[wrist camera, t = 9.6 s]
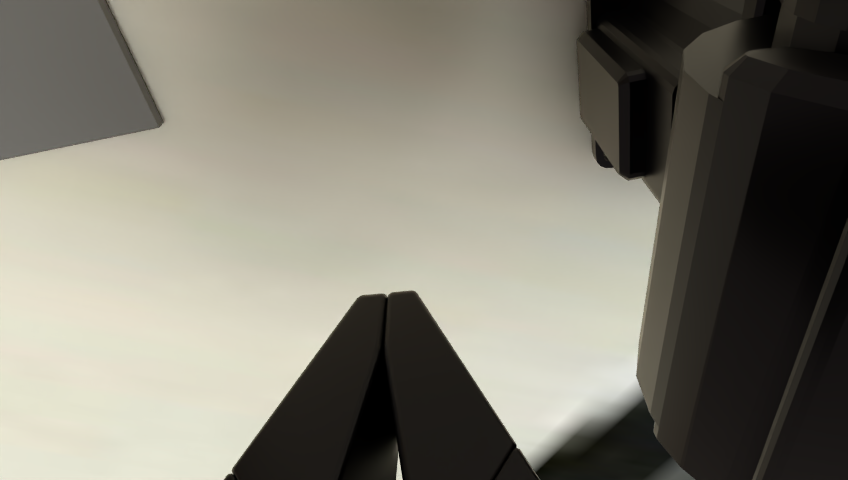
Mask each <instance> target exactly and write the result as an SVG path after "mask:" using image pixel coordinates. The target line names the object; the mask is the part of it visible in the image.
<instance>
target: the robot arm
mask: <svg viewBox="0 0 848 480" xmlns="http://www.w3.org/2000/svg"><path fill="white" fill-rule="evenodd" d="M587 23H588V31H583V32H582V34H581V35H580V37H579V38H578V40H577V55H578V75H579V96H580V115H581V119H582V121H583V122H584V124H585V125H586V127H587V128H588V130H589V131H590V133H591V134H592V152H593V156H594V158H595V159H596V161H597V162H598V164H599V165H600V166H602V167H605V168H613V167H614V168H615V170H616V171H617V173H618V174H619V175H621V176H622V177H624V178H625V179H627V180H633V179H638V178H642V180H643V181H644V182H645V184H646V185H647V186H648V188H649V189H650V191H651V192H652V193H653V195H654V196H655V197H656V199H657V200H658V201H659V203H660V207H659V214H658V220H657V227H656V233H655V240H654V247H653V253H652V260H651V266H650V273H649V280H648V286H647V293H646V299H645V306H644V313H643V319H642V326H641V332H640V339H639V348H638V361H637V374H636V376H637V379H638V382H639V385H640V387H641V390H642V393H643V396H644V398H645V401H646V404H647V407H648V409H649V412H650V414H651V416H652V418H653V419H654V421H655V425H654V434H655V436H656V438H657V440H658V441H659V442H660V443H661V444H662V446H663V447H664V448H665V449H666V450H667V451H668V453H669V454H670V455H671V456H672V457H673V459H674V460H675V461H676V462H677V463H678V465H679V466H680V467H681V468H682V469H683V470H685V471H686V472H687V473H688V474H690V475H691V476H692V477H693V478H694V479H696V480H848V0H587ZM604 153H605V155H606V156H604ZM398 452H399V459H400V465H401V471H402V478H403V480H540V479H539V477H538V476H537V474H536V473H535V472H534V470H533V469H532V467H531V466H530V464H529V463H528V461H527V459H526V458H525V456H524V455H523V453H522V452H521V450H520V449H518V448H517V446H516V443H515V442H514V440H513V439H512V437H511V436H510V434H509V433H508V431H507V430H506V428H505V426H504V425H503V423H502V422H501V420H500V419H499V417H498V416H497V414H496V413H495V411H494V410H493V408H492V407H491V405H490V404H489V402H488V401H487V399H486V397H485V396H484V394H483V393H482V391H481V390H480V388H479V387H478V385H477V384H476V382H475V381H474V379H473V378H472V376H471V375H470V373H469V372H468V370H467V369H466V367H465V365H464V364H463V362H462V361H461V359H460V358H459V356H458V355H457V353H456V352H455V350H454V349H453V347H452V346H451V344H450V343H449V341H448V340H447V338H446V336H445V335H444V333H443V332H442V330H441V329H440V327H439V326H438V324H437V323H436V321H435V320H434V318H433V317H432V315H431V314H430V312H429V311H428V309H427V307H426V306H425V304H424V303H423V301H422V300H421V298H420V297H419V295H418V294H417V293H416V292H415V291H403V292H392V293H390V294H389V295H388V297H387V296H386V295H385V294H371V295H362V296H360V297H358V298H357V299H356V301H355V302H354V303H353V305H352V306H351V307H350V309H349V310H348V312H347V313H346V314H345V316H344V317H343V318H342V320H341V321H340V322H339V324H338V325H337V327H336V328H335V329H334V331H333V332H332V333H331V335H330V336H329V337H328V339H327V340H326V342H325V343H324V344H323V346H322V347H321V348H320V350H319V351H318V352H317V354H316V355H315V357H314V358H313V359H312V361H311V362H310V363H309V365H308V366H307V367H306V369H305V370H304V372H303V373H302V374H301V376H300V377H299V378H298V380H297V381H296V382H295V384H294V385H293V387H292V388H291V389H290V391H289V392H288V393H287V395H286V396H285V397H284V399H283V400H282V402H281V403H280V404H279V406H278V407H277V408H276V410H275V411H274V412H273V414H272V415H271V417H270V418H269V419H268V421H267V422H266V423H265V425H264V426H263V427H262V429H261V430H260V432H259V433H258V434H257V436H256V437H255V438H254V440H253V441H252V442H251V444H250V445H249V447H248V448H247V449H246V451H245V452H244V453H243V455H242V456H241V458H240V459H239V460H238V462H237V463H236V464H235V466H234V467H233V469H232V473H233V474H228V475H227V476H226V478H225V479H224V480H396V472H397V461H398Z"/></svg>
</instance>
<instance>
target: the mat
mask: <svg viewBox="0 0 848 480" xmlns="http://www.w3.org/2000/svg"><path fill="white" fill-rule="evenodd" d="M162 123H163V121H162V119H161V117H160V115H159V112H158V110H157V108H156V106H155V104H154V102H153V100H152V98H151V96H150V94H149V91H148V89H147V87H146V85H145V83H144V81H143V79H142V77H141V75H140V73H139V70H138V68H137V66H136V64H135V62H134V60H133V58H132V56H131V54H130V51H129V49H128V47H127V45H126V43H125V41H124V39H123V37H122V35H121V33H120V30H119V28H118V26H117V24H116V22H115V20H114V18H113V16H112V14H111V11H110V9H109V7H108V5H107V3H106V1H105V0H0V160H4V159H8V158H13V157H18V156H23V155H28V154H33V153H38V152H42V151H47V150H52V149H57V148H62V147H67V146H72V145H77V144H81V143H86V142H91V141H96V140H101V139H106V138H111V137H115V136H120V135H125V134H130V133H135V132H140V131H145V130H150V129H154V128H159V127H160V126H161V125H162Z"/></svg>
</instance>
